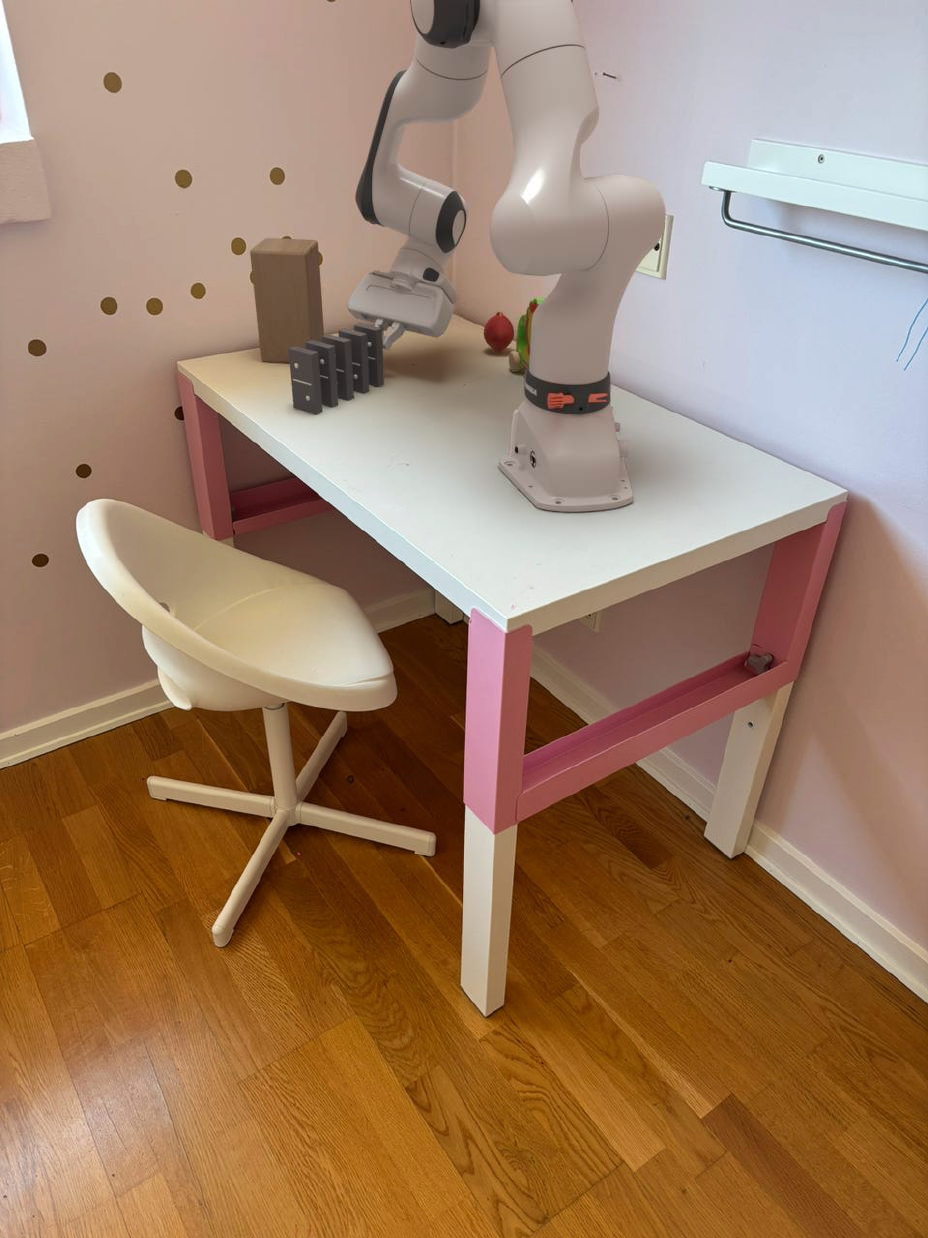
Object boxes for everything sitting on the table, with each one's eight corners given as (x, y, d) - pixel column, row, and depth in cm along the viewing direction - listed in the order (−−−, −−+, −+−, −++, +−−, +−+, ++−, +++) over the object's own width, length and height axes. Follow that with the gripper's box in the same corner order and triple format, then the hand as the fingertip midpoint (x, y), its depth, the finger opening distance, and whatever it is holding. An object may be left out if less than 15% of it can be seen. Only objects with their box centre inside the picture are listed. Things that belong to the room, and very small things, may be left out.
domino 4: (347, 384, 167) (344, 328, 162) (369, 391, 165) (367, 333, 159) (341, 387, 166) (338, 330, 161) (363, 393, 164) (360, 336, 158)
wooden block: (325, 347, 184) (318, 239, 173) (313, 364, 176) (305, 252, 165) (275, 345, 185) (264, 237, 174) (260, 362, 177) (248, 249, 165)
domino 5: (362, 378, 170) (359, 322, 165) (383, 384, 168) (382, 328, 162) (356, 381, 169) (353, 325, 163) (377, 387, 167) (375, 330, 161)
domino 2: (316, 398, 162) (312, 339, 156) (338, 404, 160) (334, 345, 154) (309, 400, 161) (305, 342, 155) (331, 407, 158) (327, 348, 153)
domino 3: (332, 391, 165) (328, 334, 159) (353, 397, 162) (350, 339, 157) (325, 394, 163) (321, 336, 158) (347, 400, 161) (344, 342, 156)
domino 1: (300, 404, 159) (295, 345, 154) (322, 411, 157) (318, 352, 151) (293, 407, 158) (288, 348, 152) (315, 414, 156) (311, 354, 150)
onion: (481, 347, 186) (482, 305, 181) (510, 346, 186) (512, 305, 182) (485, 357, 181) (486, 314, 176) (515, 356, 182) (517, 314, 177)
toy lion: (506, 368, 176) (509, 284, 168) (534, 366, 177) (539, 282, 169) (532, 398, 163) (537, 309, 155) (562, 396, 164) (568, 307, 156)
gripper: (360, 258, 171) (326, 325, 169) (452, 276, 161) (417, 348, 160) (376, 279, 176) (344, 344, 175) (467, 297, 166) (433, 367, 165)
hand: (380, 346), depth 167 cm, fingers closed
